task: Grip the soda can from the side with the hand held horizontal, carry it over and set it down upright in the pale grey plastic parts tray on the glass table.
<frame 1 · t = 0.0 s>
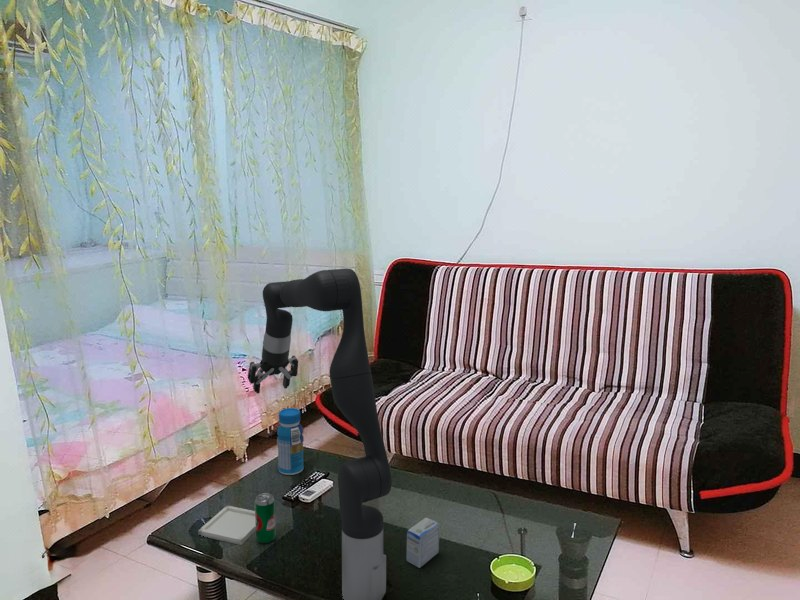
hand: (271, 389, 177), 31 cm above the table, tool tilted 20°, fingers open, 8 cm apart
medicine box: (422, 558, 150), on the table
tray: (233, 526, 162), on the table
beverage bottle: (291, 470, 194), on the table
soda can: (265, 539, 157), on the table
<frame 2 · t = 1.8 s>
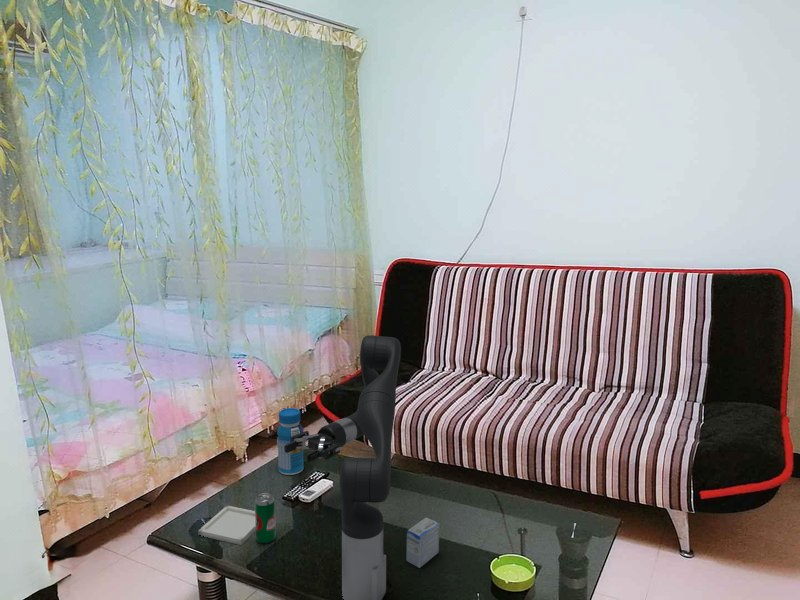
hand: (295, 454, 161), 20 cm above the table, tool horizontal, fingers open, 8 cm apart
nothing on the table moved.
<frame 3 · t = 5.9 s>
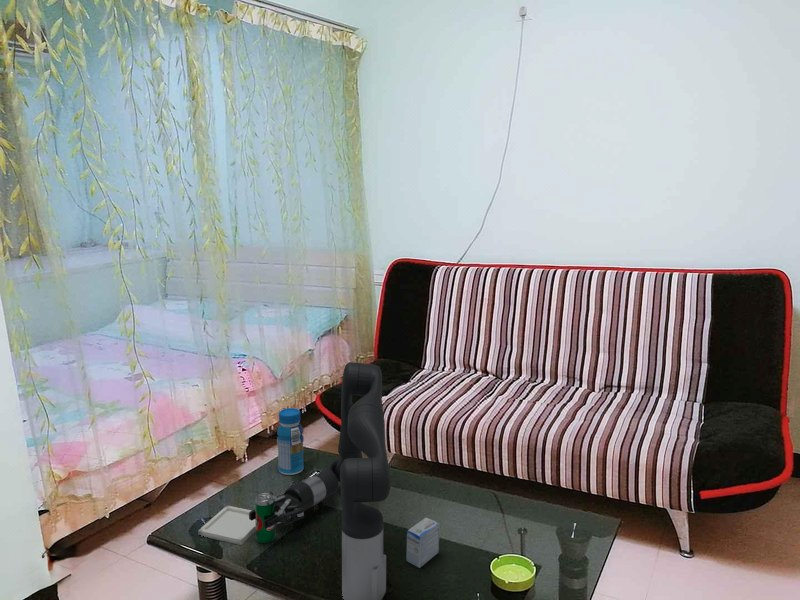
hand: (257, 520, 153), 7 cm above the table, tool horizontal, fingers closed on soda can, 5 cm apart
soda can: (265, 539, 157), on the table, touching gripper
everything else where it was.
when the fingers open (8 cm above the table, at t = 10.8 s): soda can stays where it is, resting on tray.
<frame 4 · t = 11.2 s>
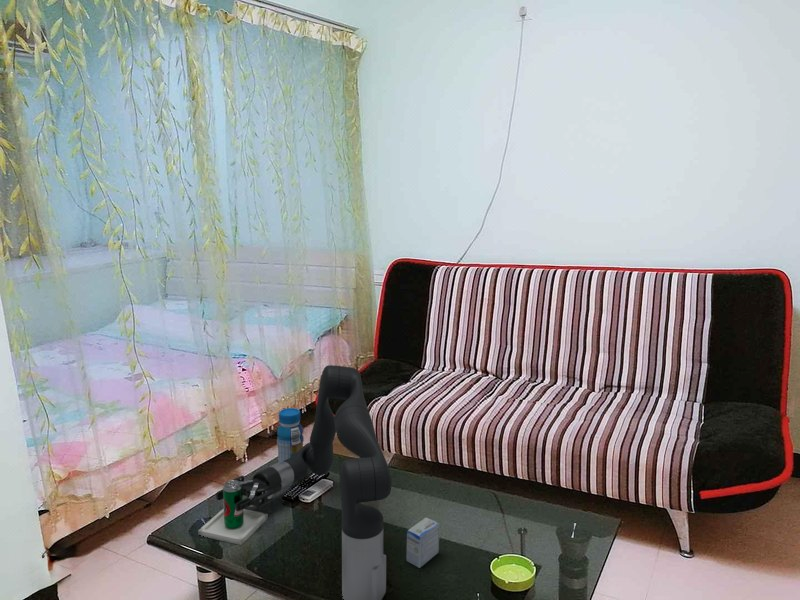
hand: (226, 502, 159), 8 cm above the table, tool horizontal, fingers open, 8 cm apart
soda can: (234, 525, 162), resting on tray
everything else where it was.
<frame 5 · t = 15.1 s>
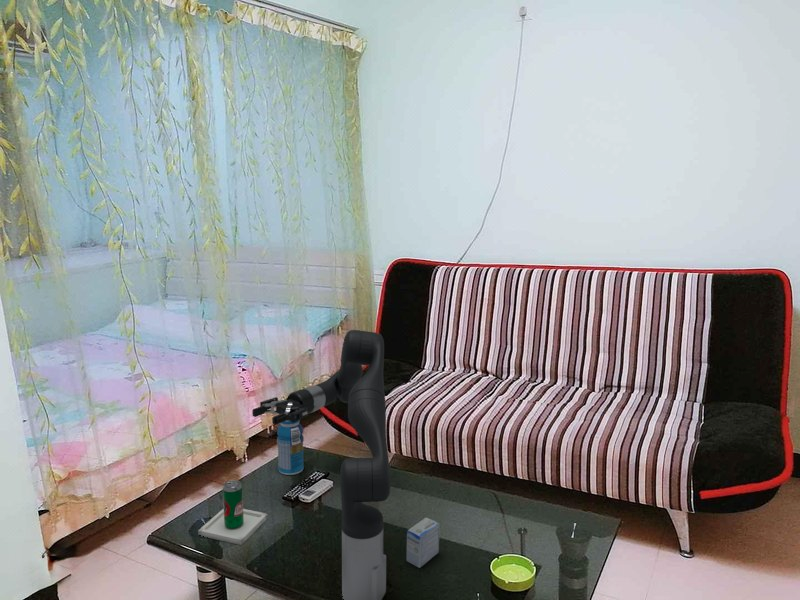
hand: (263, 417, 165), 28 cm above the table, tool horizontal, fingers open, 8 cm apart
nothing on the table moved.
at the end: soda can 0.1 cm from the tray (horizontally); soda can tilted 0°; the gripper is holding nothing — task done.
